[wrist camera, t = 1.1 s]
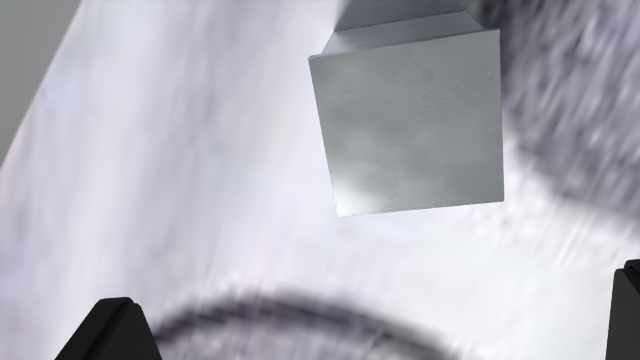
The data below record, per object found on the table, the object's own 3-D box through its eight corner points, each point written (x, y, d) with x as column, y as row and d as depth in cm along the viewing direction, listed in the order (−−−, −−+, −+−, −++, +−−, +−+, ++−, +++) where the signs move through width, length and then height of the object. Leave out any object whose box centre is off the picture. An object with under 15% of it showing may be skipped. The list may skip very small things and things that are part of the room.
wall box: (470, 4, 30) (499, 29, 22) (477, 139, 33) (504, 201, 26) (326, 27, 31) (306, 58, 24) (347, 154, 35) (335, 217, 27)
